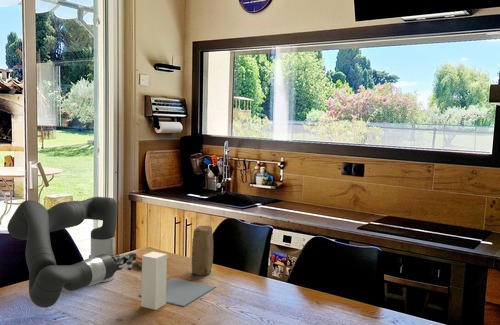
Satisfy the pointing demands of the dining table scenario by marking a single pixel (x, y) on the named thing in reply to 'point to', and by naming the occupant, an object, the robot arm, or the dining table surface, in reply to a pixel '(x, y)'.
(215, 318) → the dining table surface
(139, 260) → the pie
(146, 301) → the tall cream block
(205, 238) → the tan textured post
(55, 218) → the robot arm
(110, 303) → the dining table surface
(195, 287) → the mat
